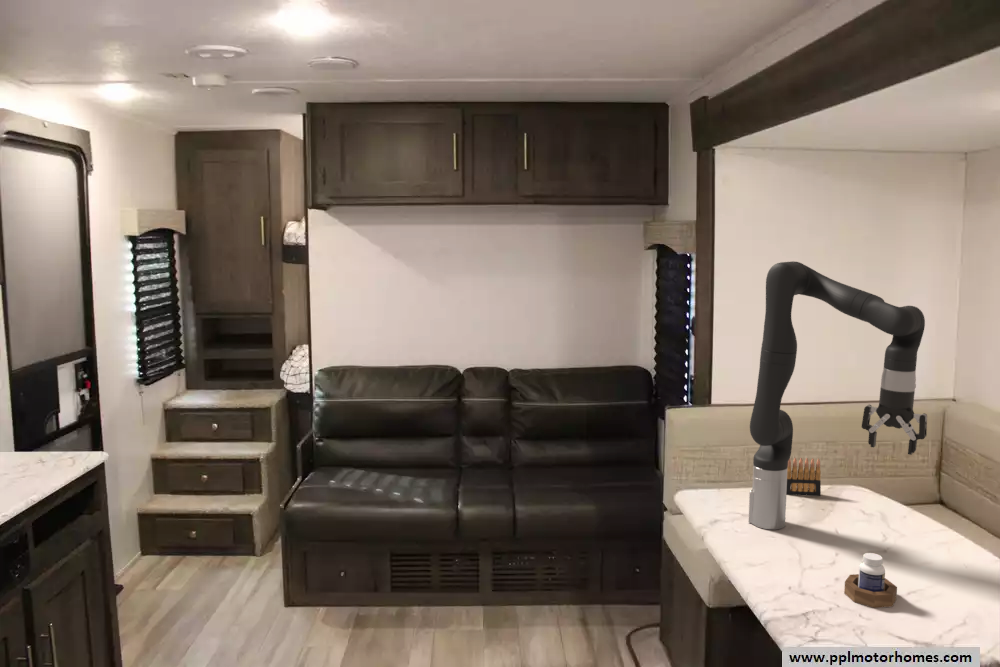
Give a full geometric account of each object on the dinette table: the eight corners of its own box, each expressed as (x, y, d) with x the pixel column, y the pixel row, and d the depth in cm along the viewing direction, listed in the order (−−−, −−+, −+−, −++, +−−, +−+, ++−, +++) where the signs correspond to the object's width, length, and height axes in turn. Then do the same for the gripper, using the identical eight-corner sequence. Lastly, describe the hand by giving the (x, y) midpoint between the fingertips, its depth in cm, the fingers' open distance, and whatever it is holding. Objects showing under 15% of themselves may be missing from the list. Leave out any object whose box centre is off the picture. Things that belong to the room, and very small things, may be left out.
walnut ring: (840, 598, 178) (841, 586, 177) (852, 581, 185) (853, 570, 185) (888, 611, 171) (889, 599, 171) (899, 594, 179) (900, 582, 179)
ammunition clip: (819, 494, 244) (821, 457, 242) (820, 496, 242) (822, 459, 240) (783, 492, 246) (785, 456, 244) (785, 494, 244) (786, 458, 242)
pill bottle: (886, 602, 175) (888, 562, 174) (861, 600, 176) (863, 560, 175) (879, 591, 180) (882, 552, 179) (855, 589, 182) (857, 550, 180)
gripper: (862, 385, 191) (857, 448, 194) (927, 394, 182) (920, 460, 185) (870, 380, 197) (864, 441, 199) (933, 388, 188) (926, 452, 190)
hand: (891, 450), depth 192 cm, fingers open, 8 cm apart
